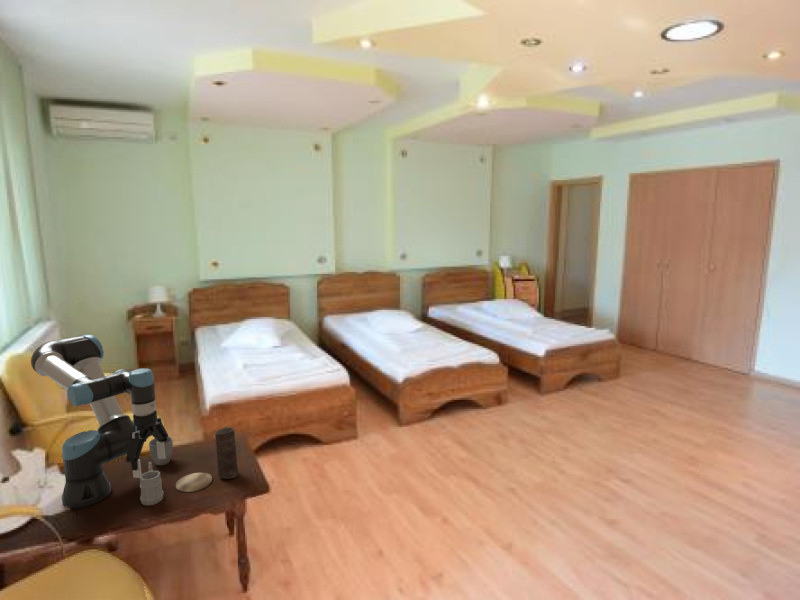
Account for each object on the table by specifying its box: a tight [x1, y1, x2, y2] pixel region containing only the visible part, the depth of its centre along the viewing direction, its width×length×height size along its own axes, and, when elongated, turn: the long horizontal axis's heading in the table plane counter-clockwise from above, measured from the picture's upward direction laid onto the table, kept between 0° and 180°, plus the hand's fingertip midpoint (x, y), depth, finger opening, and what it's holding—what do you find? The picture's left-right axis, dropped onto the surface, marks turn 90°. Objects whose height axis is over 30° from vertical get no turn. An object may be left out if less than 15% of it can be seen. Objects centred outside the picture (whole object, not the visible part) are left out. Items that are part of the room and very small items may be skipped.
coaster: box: [175, 472, 213, 493], centre depth 186 cm, size 13×13×1 cm
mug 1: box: [148, 436, 174, 466], centre depth 202 cm, size 12×9×10 cm
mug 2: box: [139, 461, 165, 506], centre depth 176 cm, size 8×12×12 cm, turn 27°
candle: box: [214, 426, 239, 479], centre depth 189 cm, size 8×7×20 cm
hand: (150, 467), depth 174 cm, fingers open, 13 cm apart
